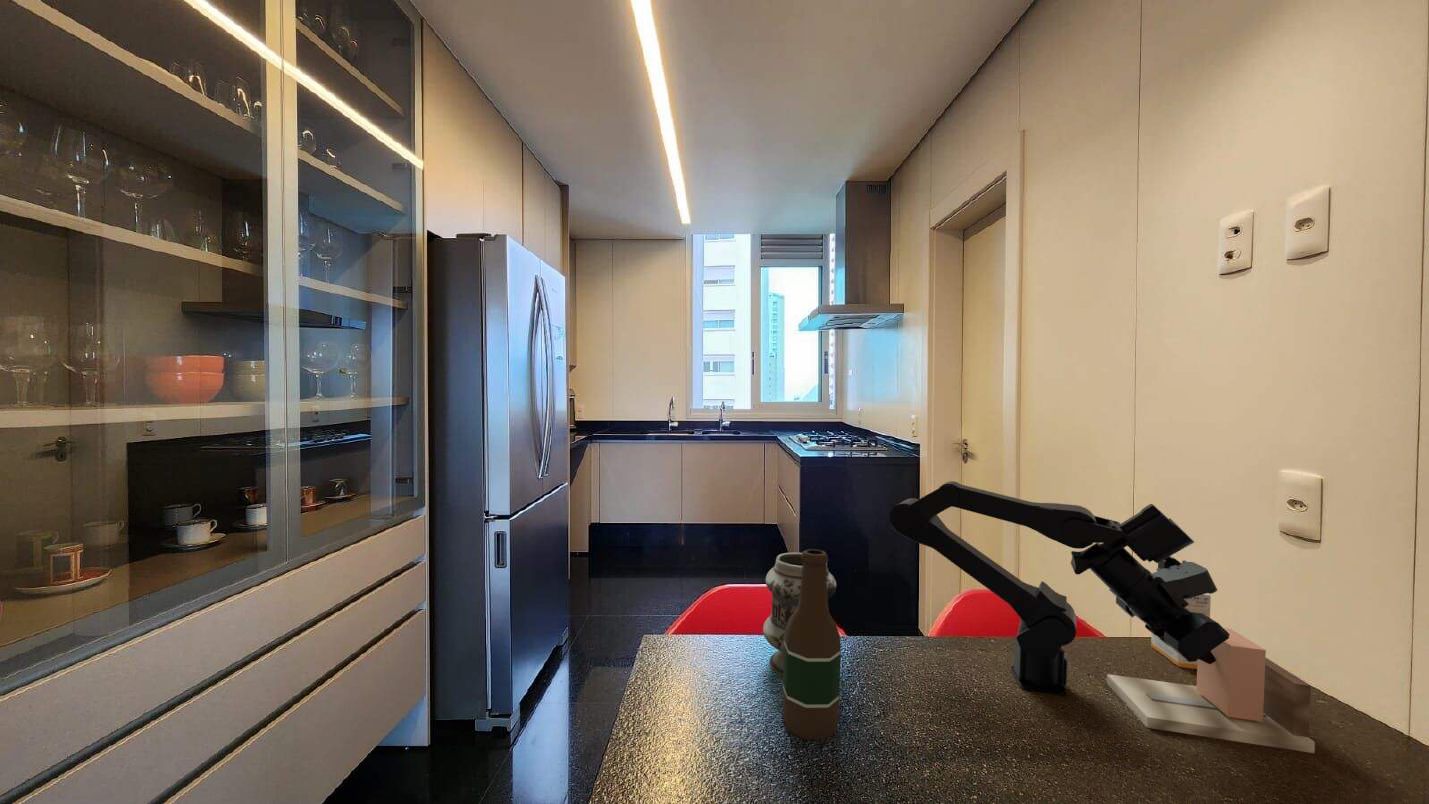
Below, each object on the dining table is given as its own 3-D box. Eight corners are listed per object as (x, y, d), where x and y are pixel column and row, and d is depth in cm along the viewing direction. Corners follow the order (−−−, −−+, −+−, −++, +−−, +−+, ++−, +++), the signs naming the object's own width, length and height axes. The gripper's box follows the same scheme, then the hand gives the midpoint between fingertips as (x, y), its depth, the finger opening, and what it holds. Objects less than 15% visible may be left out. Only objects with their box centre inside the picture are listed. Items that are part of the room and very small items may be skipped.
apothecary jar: (825, 648, 96) (828, 549, 96) (843, 685, 84) (846, 571, 84) (758, 647, 96) (761, 547, 95) (767, 684, 84) (770, 570, 83)
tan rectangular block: (1227, 716, 75) (1231, 645, 75) (1196, 690, 82) (1199, 625, 82) (1262, 721, 74) (1265, 650, 74) (1227, 694, 81) (1230, 628, 81)
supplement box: (1210, 671, 92) (1213, 595, 91) (1177, 667, 93) (1180, 592, 92) (1178, 649, 100) (1181, 579, 100) (1149, 646, 101) (1152, 577, 101)
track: (1146, 727, 75) (1149, 667, 75) (1106, 683, 87) (1108, 631, 87) (1314, 753, 70) (1317, 689, 70) (1248, 702, 82) (1250, 648, 82)
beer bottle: (841, 715, 76) (846, 547, 76) (835, 748, 69) (840, 563, 68) (787, 703, 79) (792, 541, 78) (775, 734, 71) (781, 555, 71)
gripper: (1213, 562, 70) (1315, 658, 68) (1139, 529, 88) (1218, 603, 86) (1141, 614, 72) (1237, 709, 70) (1084, 571, 90) (1158, 645, 88)
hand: (1211, 661), depth 78 cm, fingers closed
